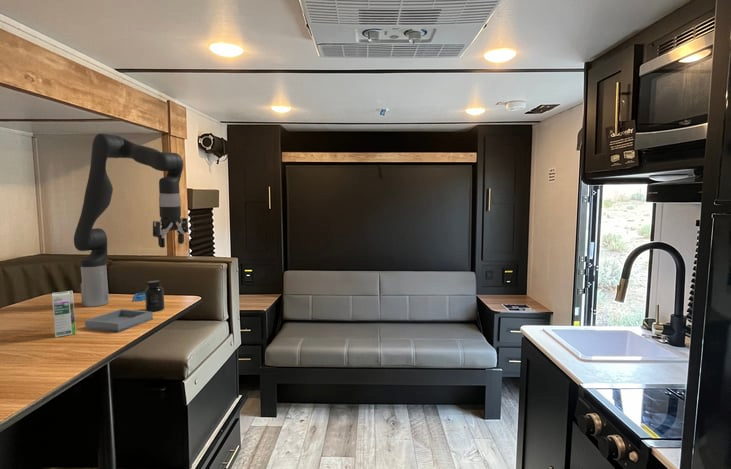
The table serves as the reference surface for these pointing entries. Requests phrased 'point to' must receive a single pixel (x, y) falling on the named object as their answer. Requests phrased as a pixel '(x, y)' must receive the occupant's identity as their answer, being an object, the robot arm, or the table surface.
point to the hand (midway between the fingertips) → (171, 245)
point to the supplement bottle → (154, 296)
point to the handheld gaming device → (139, 297)
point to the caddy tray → (118, 320)
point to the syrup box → (63, 313)
